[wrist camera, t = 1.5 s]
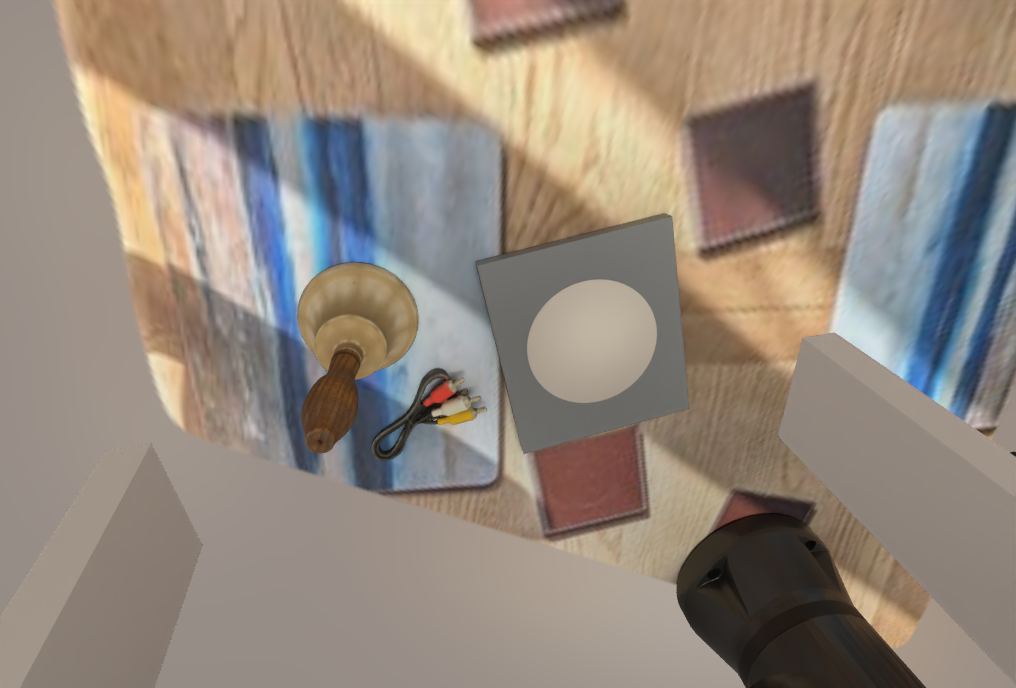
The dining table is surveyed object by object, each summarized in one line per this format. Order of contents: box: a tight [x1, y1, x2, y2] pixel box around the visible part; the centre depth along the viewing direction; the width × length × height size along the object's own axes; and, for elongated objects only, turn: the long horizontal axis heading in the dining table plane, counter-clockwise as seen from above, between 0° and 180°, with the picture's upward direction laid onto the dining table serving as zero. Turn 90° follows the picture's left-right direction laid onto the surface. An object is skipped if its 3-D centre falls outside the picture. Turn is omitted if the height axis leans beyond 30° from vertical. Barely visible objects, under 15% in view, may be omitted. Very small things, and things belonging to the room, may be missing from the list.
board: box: [476, 214, 689, 454], centre depth 42 cm, size 16×14×1 cm
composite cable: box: [372, 369, 487, 461], centre depth 42 cm, size 10×5×2 cm, turn 121°
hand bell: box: [298, 262, 418, 454], centre depth 32 cm, size 8×8×16 cm
